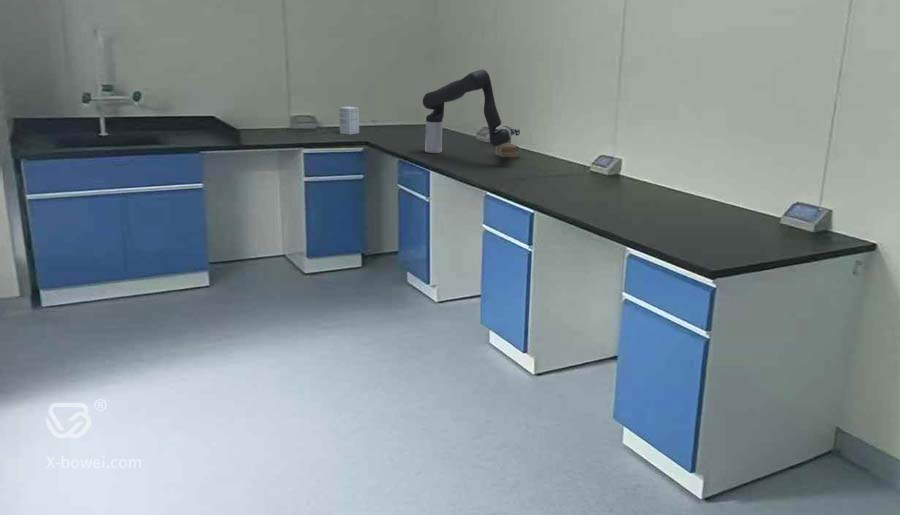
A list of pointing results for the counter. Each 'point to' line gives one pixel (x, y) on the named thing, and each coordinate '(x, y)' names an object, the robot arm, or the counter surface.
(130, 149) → the counter surface
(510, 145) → the oak block
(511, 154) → the walnut base
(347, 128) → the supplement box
